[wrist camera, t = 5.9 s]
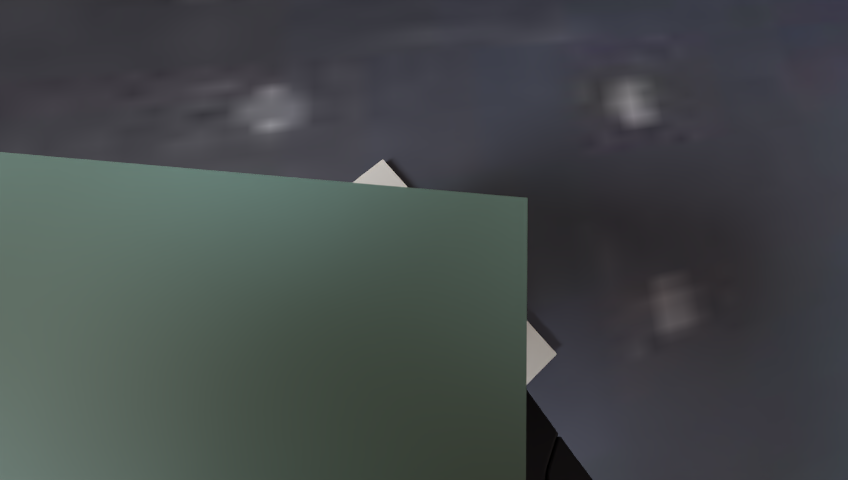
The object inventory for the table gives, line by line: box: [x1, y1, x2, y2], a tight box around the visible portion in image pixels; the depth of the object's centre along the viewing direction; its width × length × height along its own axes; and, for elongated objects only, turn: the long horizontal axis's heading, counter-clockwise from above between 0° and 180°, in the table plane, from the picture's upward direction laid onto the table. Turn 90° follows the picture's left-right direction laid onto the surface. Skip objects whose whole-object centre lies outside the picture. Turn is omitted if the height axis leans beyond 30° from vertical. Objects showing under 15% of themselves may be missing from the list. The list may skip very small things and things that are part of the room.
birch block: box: [0, 152, 528, 480], centre depth 8 cm, size 5×5×12 cm
